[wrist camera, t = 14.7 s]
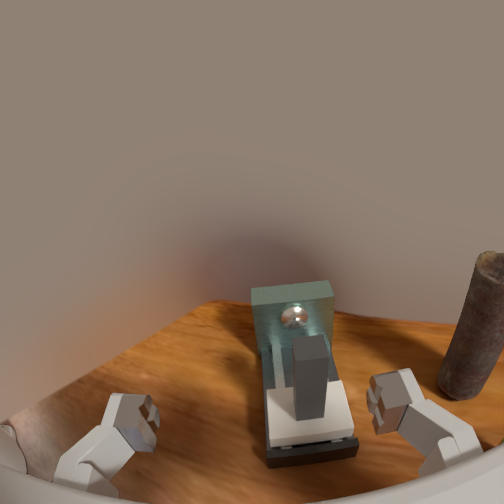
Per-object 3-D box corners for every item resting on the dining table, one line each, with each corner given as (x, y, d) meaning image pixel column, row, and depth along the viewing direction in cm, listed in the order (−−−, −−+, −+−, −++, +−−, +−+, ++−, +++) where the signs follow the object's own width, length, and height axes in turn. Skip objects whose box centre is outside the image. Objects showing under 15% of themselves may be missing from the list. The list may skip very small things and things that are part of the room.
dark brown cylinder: (471, 413, 31) (532, 288, 21) (427, 395, 36) (470, 267, 26) (485, 375, 35) (533, 255, 26) (444, 360, 40) (480, 238, 31)
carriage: (270, 447, 31) (261, 382, 25) (267, 399, 37) (258, 327, 31) (351, 436, 30) (368, 367, 25) (340, 390, 37) (348, 316, 31)
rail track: (263, 468, 31) (255, 427, 26) (257, 340, 50) (251, 288, 46) (359, 455, 30) (375, 410, 26) (326, 332, 50) (328, 280, 46)
